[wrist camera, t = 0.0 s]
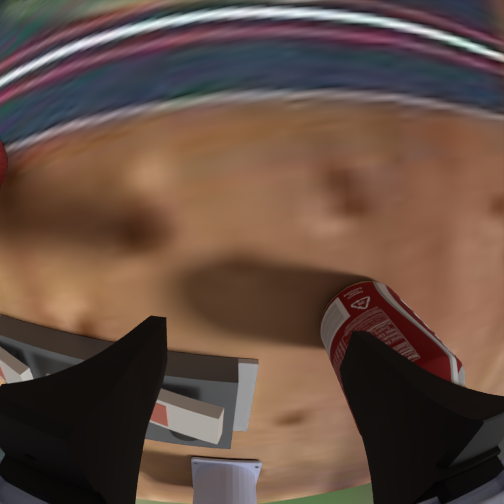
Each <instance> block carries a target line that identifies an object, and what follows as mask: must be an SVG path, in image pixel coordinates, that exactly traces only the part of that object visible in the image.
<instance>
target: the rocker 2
mask: <svg viewBox="0 0 504 504" xmlns="http://www.w3.org/2000/svg"><path fill="white" fill-rule="evenodd" d="M223 415H224V408H223V407H220V406H216V405H212V404H209V403H205V402H202V401H199V400H195V399H192V398H189V397H186V396H182V395H179V394H176V393H173V392H170V391H167V390H164V389H162V388H161V390H160V393H159V395H158V398H157V401H156V404H155V407H154V410H153V413H152V416H151V419H150V421H149V422H151V423H154V424H156V425H159V426H162V427H164V428H167V429H170V430H173V431H176V432H178V433H181V434H184V435H187V436H190V437H194V438H197V439H200V440H203V441H207V442H210V443H213V444H218V442H219V439H220V437H221V435H222V427H223Z"/></svg>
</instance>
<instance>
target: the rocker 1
mask: <svg viewBox="0 0 504 504" xmlns="http://www.w3.org/2000/svg"><path fill="white" fill-rule="evenodd" d="M0 377H1V378H2V379H3V380H4V381H5V382H7V383H14V382H21V381H27V380H32V379H33V376H32V374H31V371H30V368H29V367H28V366H26V365H25V364H23V363H22V362H20V361H19V360H18V359H16V358H15V357H14V356H12V355H11V354H9V353H8V352H7V351H6V350H4V349H3V348H2V347H0Z"/></svg>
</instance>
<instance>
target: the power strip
mask: <svg viewBox="0 0 504 504" xmlns="http://www.w3.org/2000/svg"><path fill="white" fill-rule="evenodd" d="M112 344H114V342H109V341H103V340H98V339H93V338H89V337H84V336H79V335H75V334H70V333H66V332H62V331H58V330H54V329H50V328H46V327H42V326H38V325H34V324H31V323H27V322H24V321H20V320H17V319H13V318H10V317H7V316H4V315H0V347H2V348H3V349H4V350H6V351H7V352H8V353H9V354H11V355H12V356H14V357H15V358H16V359H18V360H19V361H20V362H22V363H23V364H25V365H26V366H28V367H29V368H30V371H31V374H32V376H33V379H36V378H40V377H43V376H46V374H53V373H56V372H59V371H62V370H64V369H67V368H69V367H72V366H74V365H77V364H79V363H81V362H83V361H85V360H87V359H89V358H91V357H93V356H95V355H96V354H98V353H100V352H101V351H103V350H105V349H106V348H108V347H109V346H111V345H112ZM167 356H168V361H167V366H166V371H165V376H164V380H163V384H162V387H161V388H162V389H164V390H167V391H170V392H173V393H176V394H179V395H182V396H186V397H189V398H192V399H195V400H199V401H202V402H205V403H209V404H212V405H216V406H220V407H223V408H224V415H223V427H222V435H221V437H220V439H219V442H218V444H213V443H210V442H207V441H203V440H200V439H197V438H194V437H190V436H187V435H184V434H181V433H178V432H176V431H173V430H170V429H167V428H164V427H162V426H159V425H156V424H154V423H151V422H149V424H148V428H147V431H146V435H145V439H150V440H155V441H161V442H167V443H174V444H181V445H189V446H198V447H208V448H221V449H230V448H231V440H232V432H233V431H247V429H248V423H249V418H250V412H251V406H252V401H253V395H254V389H255V383H256V377H257V371H258V365H259V362H258V360H257V359H241V358H228V357H216V356H206V355H196V354H187V353H179V352H171V351H167ZM6 384H8V383H7V382H6Z"/></svg>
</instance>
